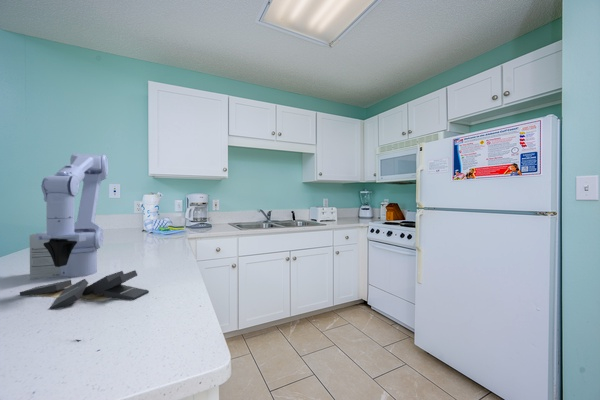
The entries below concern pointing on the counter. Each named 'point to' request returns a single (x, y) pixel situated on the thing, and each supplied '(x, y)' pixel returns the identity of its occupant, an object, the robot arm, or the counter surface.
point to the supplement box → (41, 260)
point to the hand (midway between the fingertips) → (60, 265)
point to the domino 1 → (46, 288)
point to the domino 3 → (101, 282)
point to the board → (89, 296)
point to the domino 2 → (70, 294)
